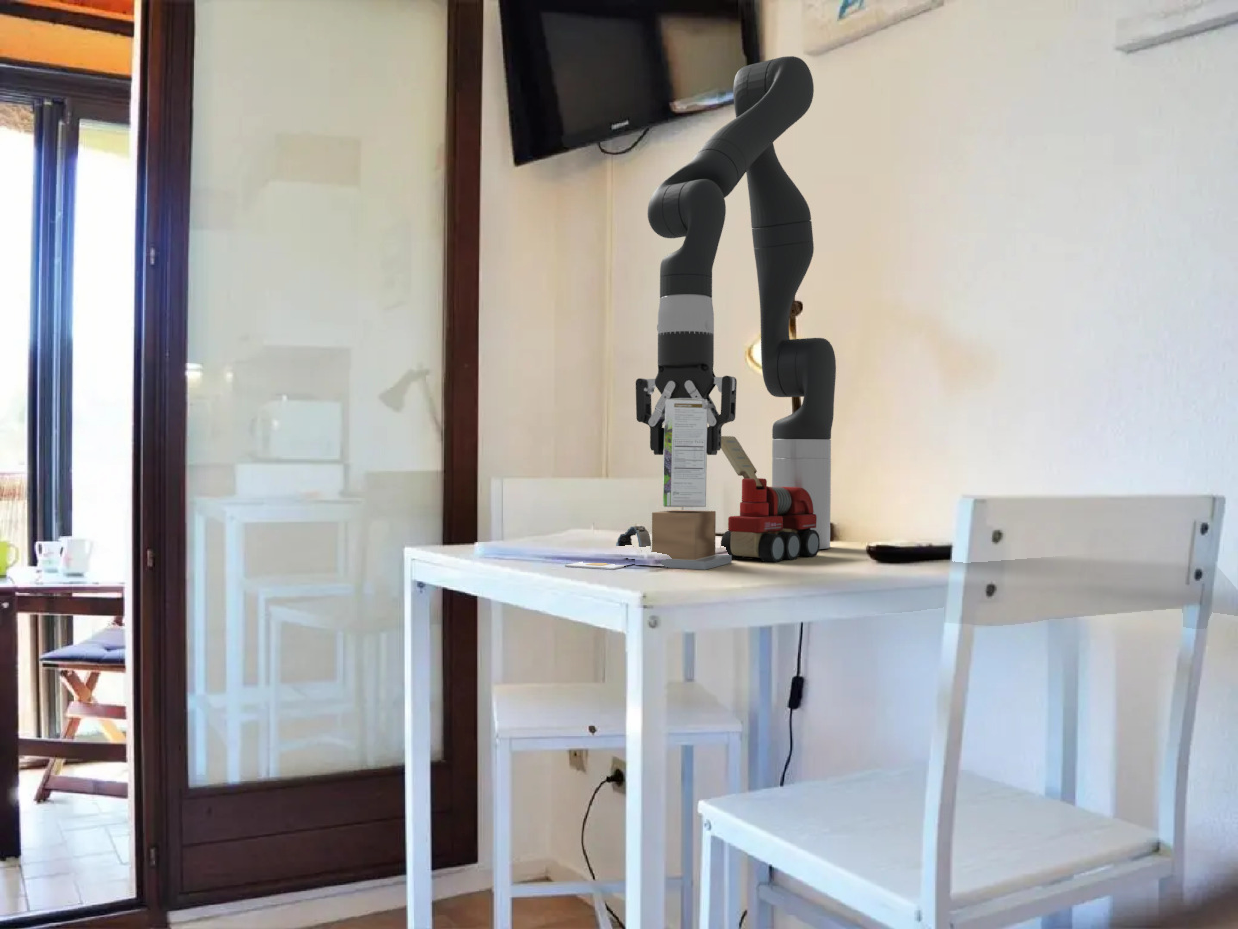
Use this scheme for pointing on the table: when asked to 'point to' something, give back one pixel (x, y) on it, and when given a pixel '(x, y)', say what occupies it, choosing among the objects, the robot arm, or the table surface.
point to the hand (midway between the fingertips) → (685, 454)
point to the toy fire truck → (768, 515)
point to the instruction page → (595, 565)
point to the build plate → (698, 562)
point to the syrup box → (685, 453)
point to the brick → (684, 533)
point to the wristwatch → (641, 535)
